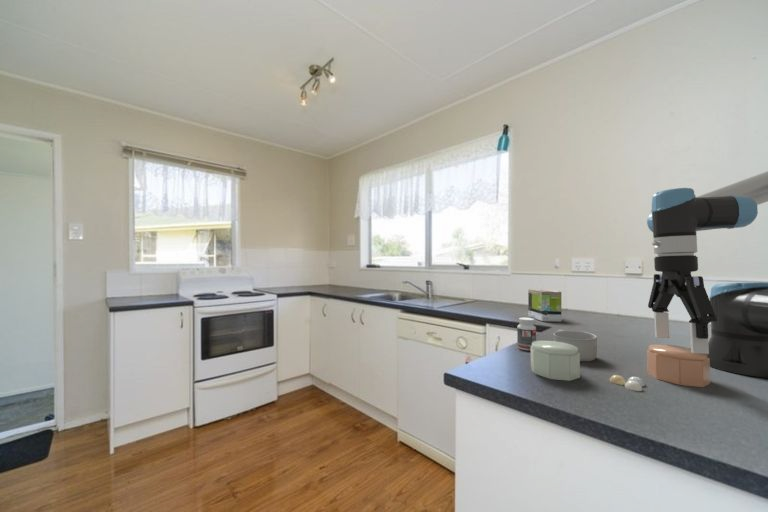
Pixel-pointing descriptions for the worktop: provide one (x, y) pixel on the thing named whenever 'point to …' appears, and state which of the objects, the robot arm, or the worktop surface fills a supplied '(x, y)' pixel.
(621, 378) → the marble amber
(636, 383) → the marble cream
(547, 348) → the sage acorn nut
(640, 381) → the marble bluegrey
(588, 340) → the teacup
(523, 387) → the worktop surface
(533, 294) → the tea box
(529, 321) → the pill bottle
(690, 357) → the peach acorn nut
